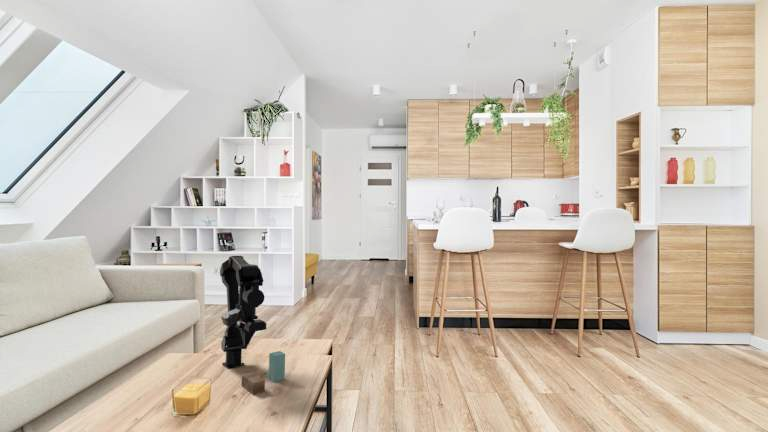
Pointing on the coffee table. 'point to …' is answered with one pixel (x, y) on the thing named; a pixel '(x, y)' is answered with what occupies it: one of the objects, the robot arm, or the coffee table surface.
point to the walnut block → (253, 383)
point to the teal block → (276, 366)
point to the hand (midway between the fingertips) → (246, 345)
